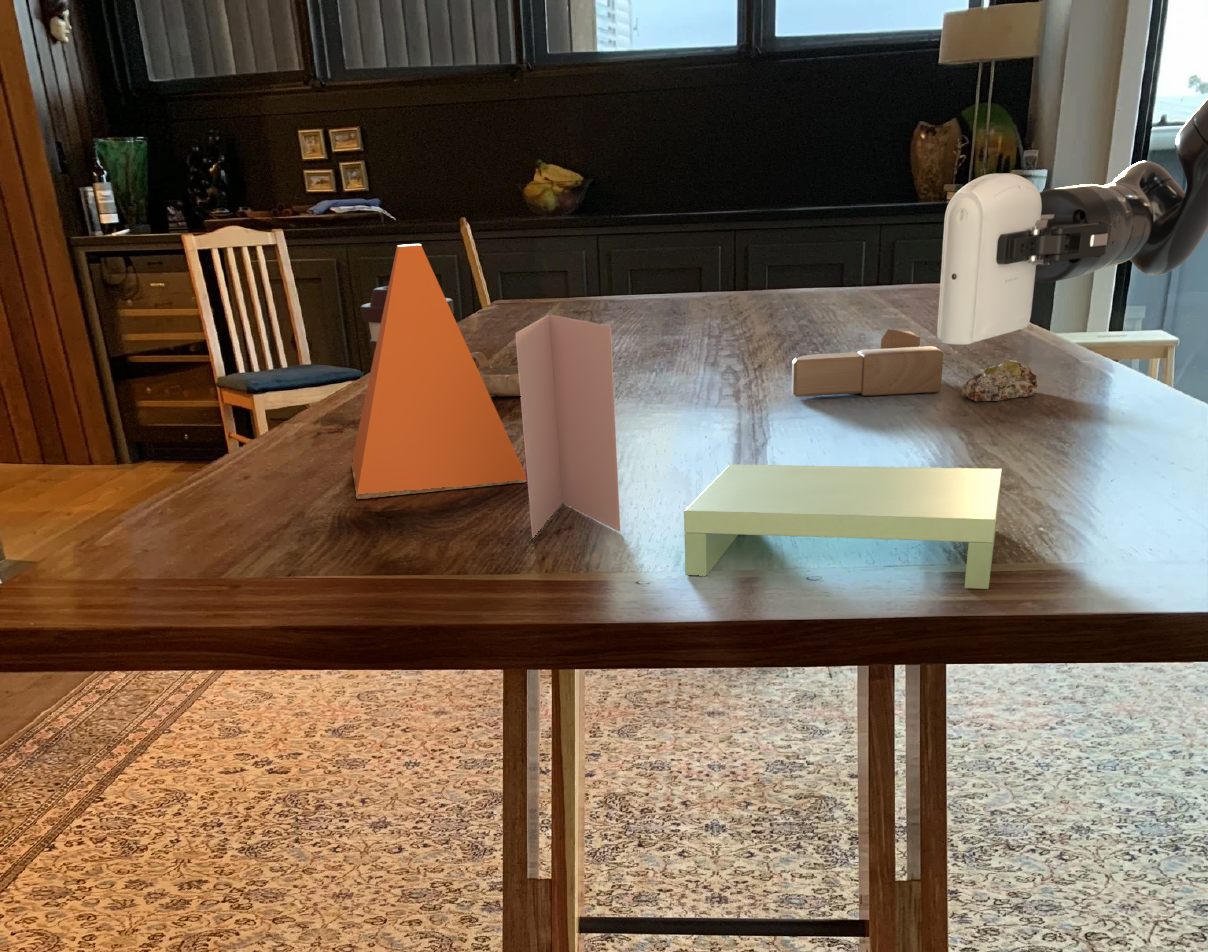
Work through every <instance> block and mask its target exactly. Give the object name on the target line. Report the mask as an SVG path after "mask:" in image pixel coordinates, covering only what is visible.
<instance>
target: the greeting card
mask: <svg viewBox="0 0 1208 952" xmlns="http://www.w3.org/2000/svg"><path fill="white" fill-rule="evenodd" d="M514 335H515V345H516V346H515V347H516V358H517V366H518V371H519V383H520V395H521V397H520V405H521V406H520V407H521V417H522V418H521V419H522V429H523V442H524V463H525V464H524V466H525V474H526V479H527V483H526V486H527V487H526V488H527V494H528V501H529V502H528V503H529V515H530V527H531V528H530V529H531V538H534V537H535V535H537V536H538V534H539V533H538V531H540V529H541V528H542V527H543V526H544V524H545V523H546V522H547V520H549V521H550V519H551V518H552V517H553V516H554V514H555V513H556V512H557V511H558V509H559V508H560V507H561V506H562V505H563V504H564V505H566V506H568V507H570V506H571V507H570V508H572V509H574V510H575V509H576V510H575V511H577V510H578V512H579V513H581V512H582V514H583V513H584V514H583V515H585V516H587V517H589V518H591V519H593V520H595V521H597V522H599V523H601V524H603V525H605V526H607V527H608V528H611V529H613V530H615V531H617V532H619V531H620V532H621V514H620V494H619V492H620V491H619V490H620V489H619V474H618V473H619V472H618V471H619V469H618V453H617V449H618V448H617V429H616V410H615V407H616V406H615V389H614V368H613V367H614V366H613V365H614V364H613V347H612V345H613V344H612V327H611V325H606V324H601V323H595V322H591V321H585V320H580V319H575V318H569V317H564V316H561V315H560V316H559V315H554V314H547V315H545V316H544V317H542V318H539V320H537V321H535V322H533V323H531V324H529V325H527V326H526V327H524V328H522V329H521V330H519V331H517V332H515V334H514ZM562 502H563V503H562ZM560 505H561V506H560ZM559 506H560V507H559ZM556 510H557V511H556ZM555 511H556V512H555ZM554 512H555V513H554ZM553 513H554V514H553ZM552 515H553V516H552ZM551 516H552V517H551ZM550 517H551V518H550ZM549 518H550V519H549ZM547 523H548V522H547ZM547 523H546V524H547ZM546 524H545V525H546ZM544 527H545V526H544ZM544 527H543V528H544ZM543 528H542V529H543ZM542 529H541V530H542ZM540 532H541V531H540ZM537 533H538V534H537ZM535 538H536V537H535ZM535 538H534V539H535Z"/></svg>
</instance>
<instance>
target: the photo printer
mask: <svg viewBox="0 0 1208 952" xmlns="http://www.w3.org/2000/svg"><path fill="white" fill-rule="evenodd" d="M1041 209H1042V202H1041V196H1040V190H1039V189H1038V188H1037V186H1036V185H1035V184H1034V183H1033V182H1032V181H1031V180H1029V179H1028V178H1025V177H1023V176H1021V175H1020V174H1019V175H1018V174H1014V173H1007V172H1006V173H988V174H984V175H982V176H979V177H977V178H974V179H973V180H971V181H969V182H968V183H966V184H965V185H964V186H962V187H961V188H960V189H958V190H957V192H955V193H954V195H953V196H952V197H951V198H950V200H949V202H948V204H947V206H946V210H945V213H944V221H943V236H942V237H943V239H942V240H943V251H942V259H941V266H940V267H941V269H940V283H939V284H940V285H939V299H938V313H937V326H936V327H937V328H936V335H937V336H936V337H937V339H938V340H940V341H941V342H942V343H943V344H947V345H957V346H958V345H964V346H965V345H971V344H974V343H977V342H980V341H984V340H988V339H991V338H995V337H999V336H1002V335H1005V334H1009V333H1013V332H1016V331H1019V330H1022V329H1026V328H1027V327H1029V325H1030V323H1031V322H1030V321H1031V317H1032V310H1033V299H1034V290H1035V282H1036V281H1035V271H1036V265H1032V263H1028V262H1025V261H1021V262H1016V263H1011V264H998V263H997V249H998V239H999V237H1000V235H1001V234H1006V233H1012V232H1018V231H1027V229H1029V228H1032V227H1034V226H1035V223H1036V221H1037V220H1041Z"/></svg>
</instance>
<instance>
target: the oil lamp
mask: <svg viewBox="0 0 1208 952" xmlns="http://www.w3.org/2000/svg"><path fill="white" fill-rule="evenodd" d="M470 354H471V356H472V358H473V360H474V362H475V365H476V366H477V363H478V365H479V366H478V367H477V369H478V371H479V373H480V375H481V378H482V380H483V382H484V384H485V386H486V389H487V391H488V393H489V395H497V396H496V397H516V396H521V395H520V383H519V371H518V365H495V366H490V364H489V360H488V359H487V357H486V355H485V354H484V353H483V352H481V351H476V352H470Z"/></svg>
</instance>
